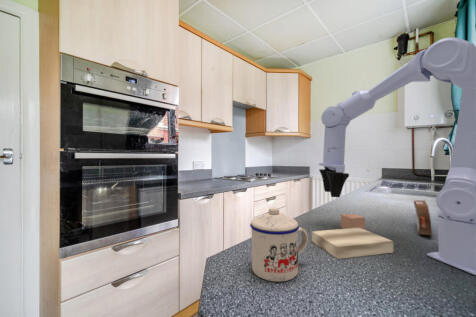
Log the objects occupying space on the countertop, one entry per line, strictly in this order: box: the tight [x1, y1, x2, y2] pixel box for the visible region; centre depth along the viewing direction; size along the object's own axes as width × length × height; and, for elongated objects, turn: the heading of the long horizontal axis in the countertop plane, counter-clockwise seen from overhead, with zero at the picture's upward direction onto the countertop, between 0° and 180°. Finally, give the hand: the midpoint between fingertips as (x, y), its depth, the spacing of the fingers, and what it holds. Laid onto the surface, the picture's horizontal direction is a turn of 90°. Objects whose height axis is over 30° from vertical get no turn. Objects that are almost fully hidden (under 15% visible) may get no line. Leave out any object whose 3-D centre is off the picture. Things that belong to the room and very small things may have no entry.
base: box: [311, 227, 394, 260], centre depth 51 cm, size 10×14×2 cm
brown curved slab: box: [413, 199, 433, 237], centre depth 61 cm, size 15×3×8 cm, turn 143°
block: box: [340, 213, 366, 230], centre depth 64 cm, size 4×4×4 cm
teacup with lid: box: [249, 207, 309, 282], centre depth 41 cm, size 12×9×12 cm
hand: (331, 194), depth 64 cm, fingers open, 7 cm apart
